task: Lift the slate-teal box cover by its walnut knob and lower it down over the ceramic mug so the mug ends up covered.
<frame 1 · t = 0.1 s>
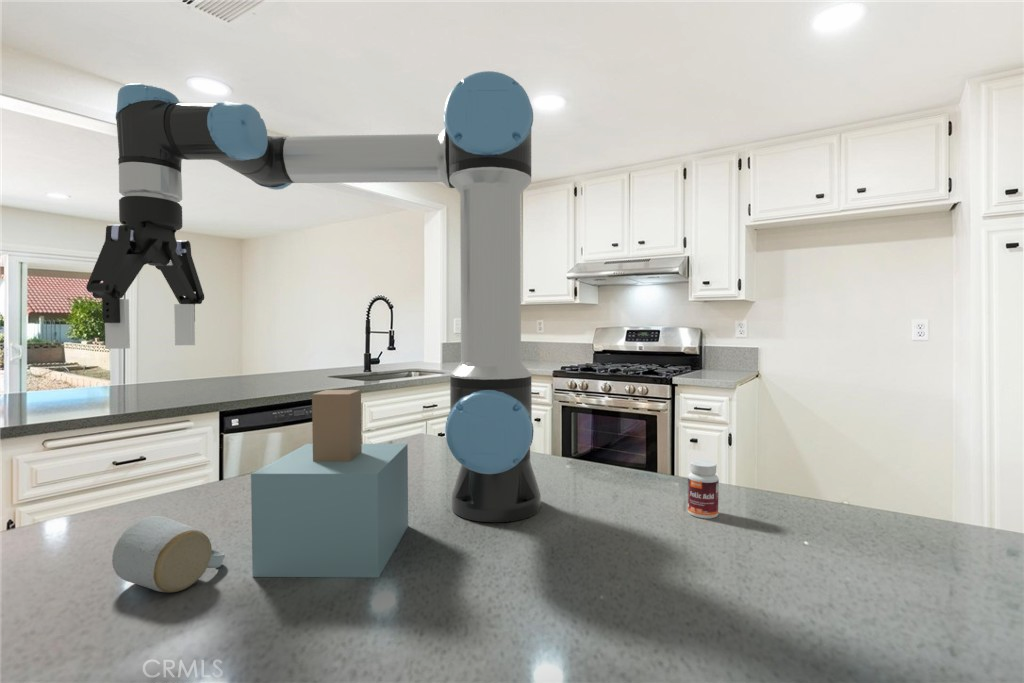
hand: (154, 347, 76), 28 cm above the countertop, fingers open, 13 cm apart
pill bottle: (702, 515, 85), on the countertop
ceramic mug: (175, 581, 63), on the countertop
teal box cover: (339, 548, 72), on the countertop
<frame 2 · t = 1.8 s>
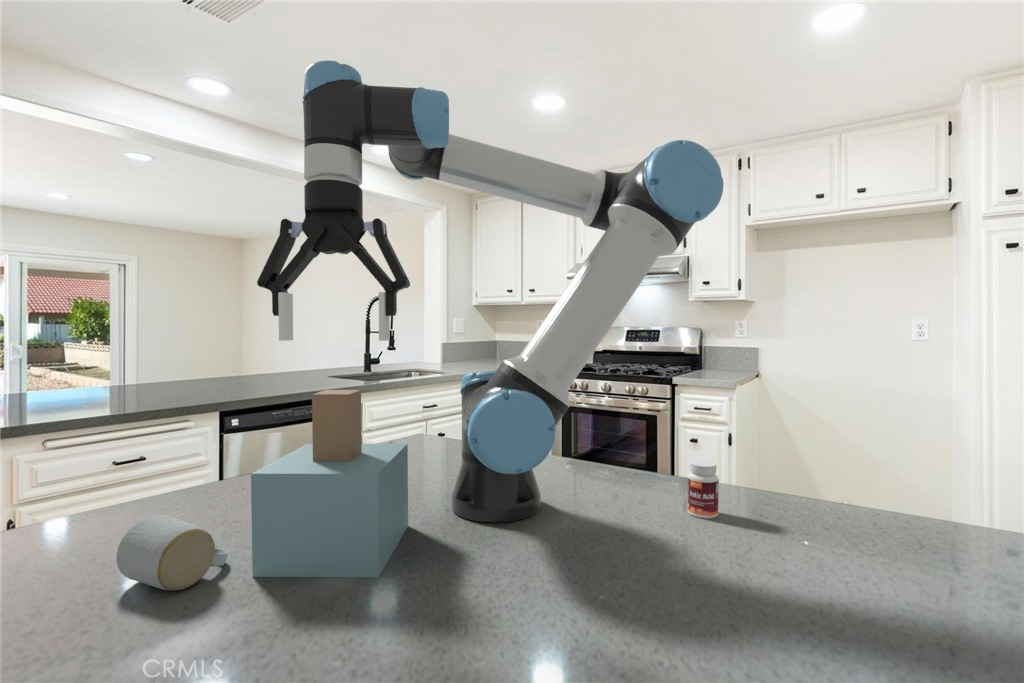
hand: (335, 340, 71), 29 cm above the countertop, fingers open, 13 cm apart
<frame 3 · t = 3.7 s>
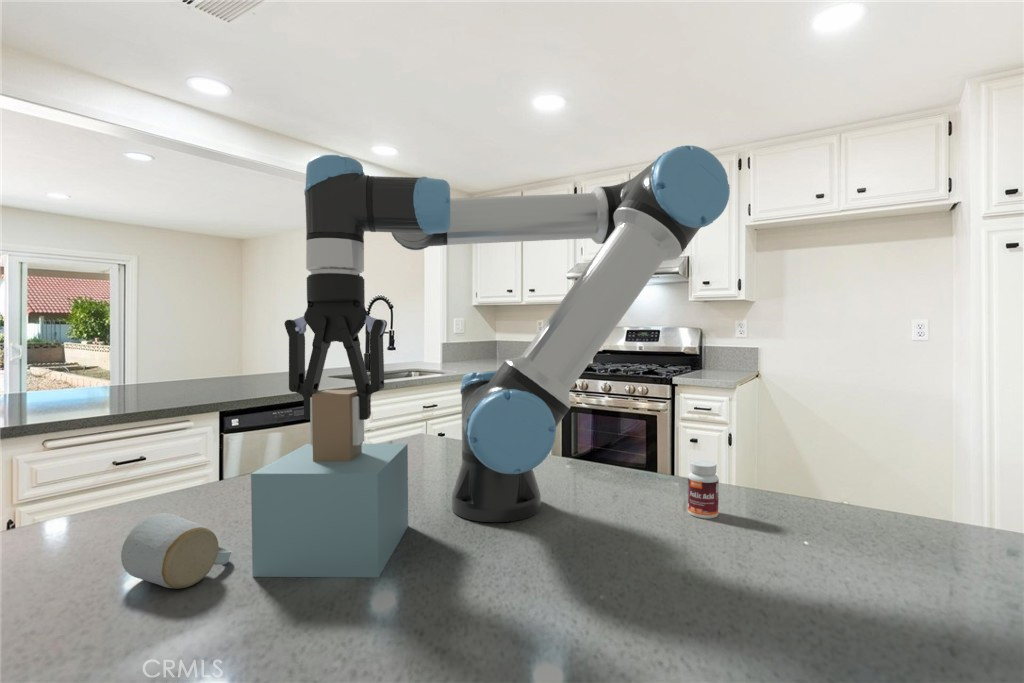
hand: (338, 442, 72), 15 cm above the countertop, fingers closed on teal box cover, 5 cm apart
teal box cover: (339, 548, 72), on the countertop, touching gripper
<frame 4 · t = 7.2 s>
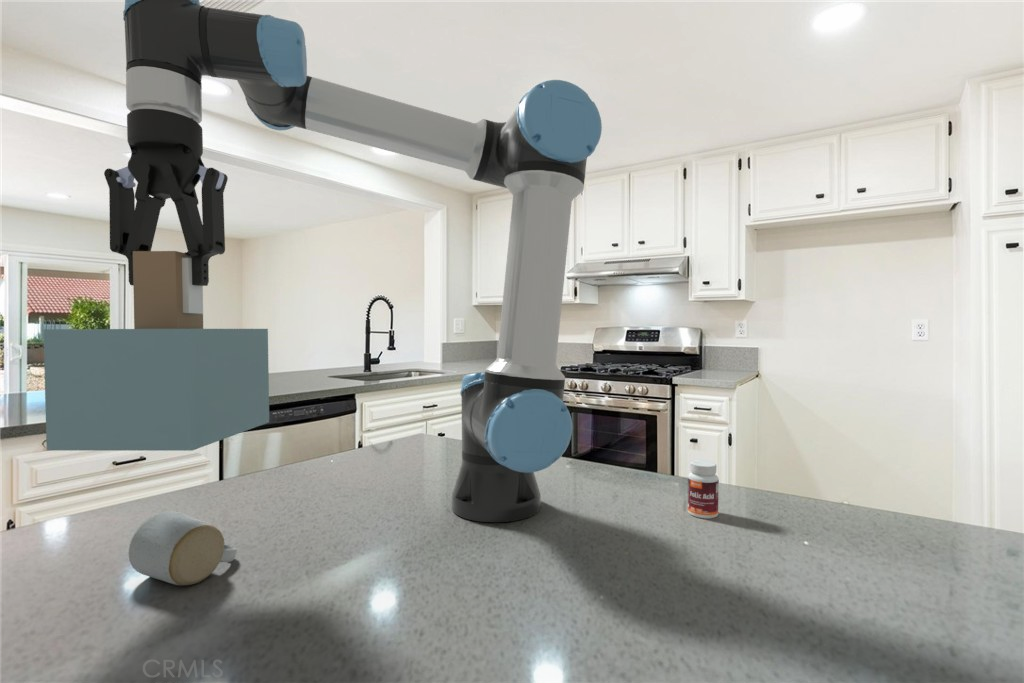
hand: (169, 313, 63), 32 cm above the countertop, fingers closed on teal box cover, 5 cm apart
teal box cover: (172, 434, 63), point 18 cm above the countertop, touching gripper
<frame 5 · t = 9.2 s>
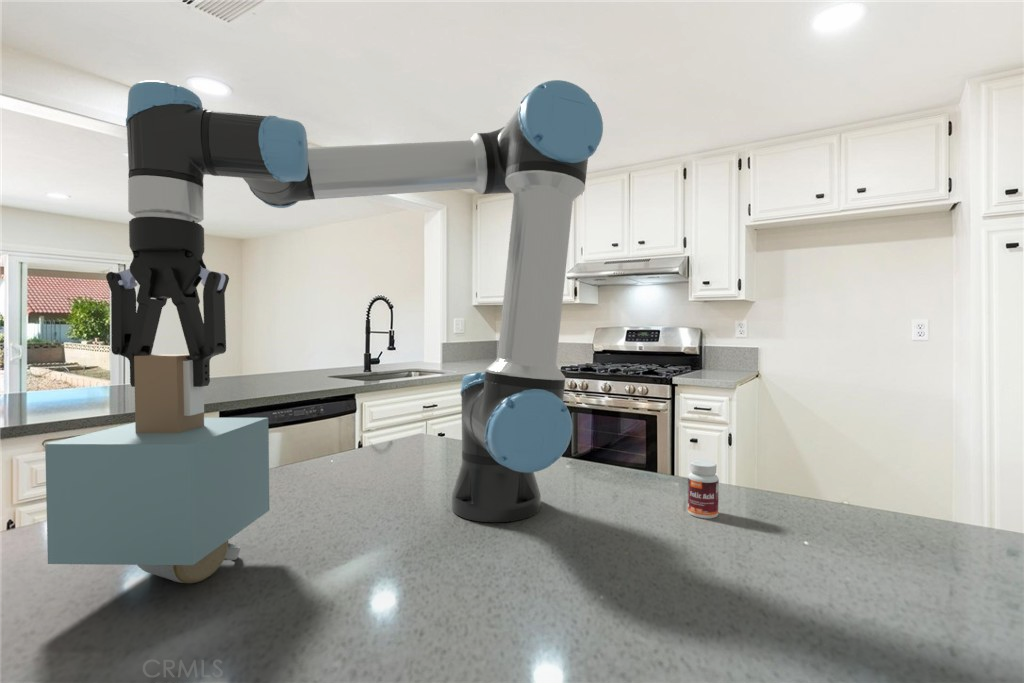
hand: (170, 413, 63), 20 cm above the countertop, fingers closed on teal box cover, 5 cm apart
teal box cover: (172, 533, 63), point 6 cm above the countertop, touching gripper
when the fingers open (16 cm above the countertop, at t = 10.8 s): teal box cover drops 2 cm, on the countertop.
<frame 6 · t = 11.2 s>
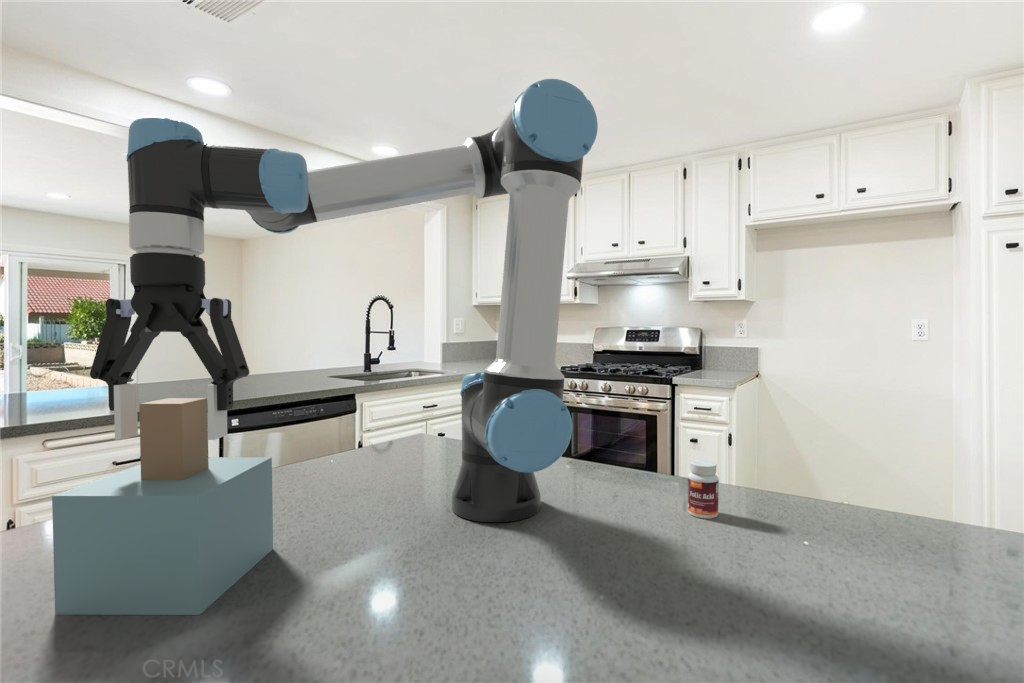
hand: (172, 437, 63), 17 cm above the countertop, fingers open, 10 cm apart
teal box cover: (178, 577, 64), on the countertop
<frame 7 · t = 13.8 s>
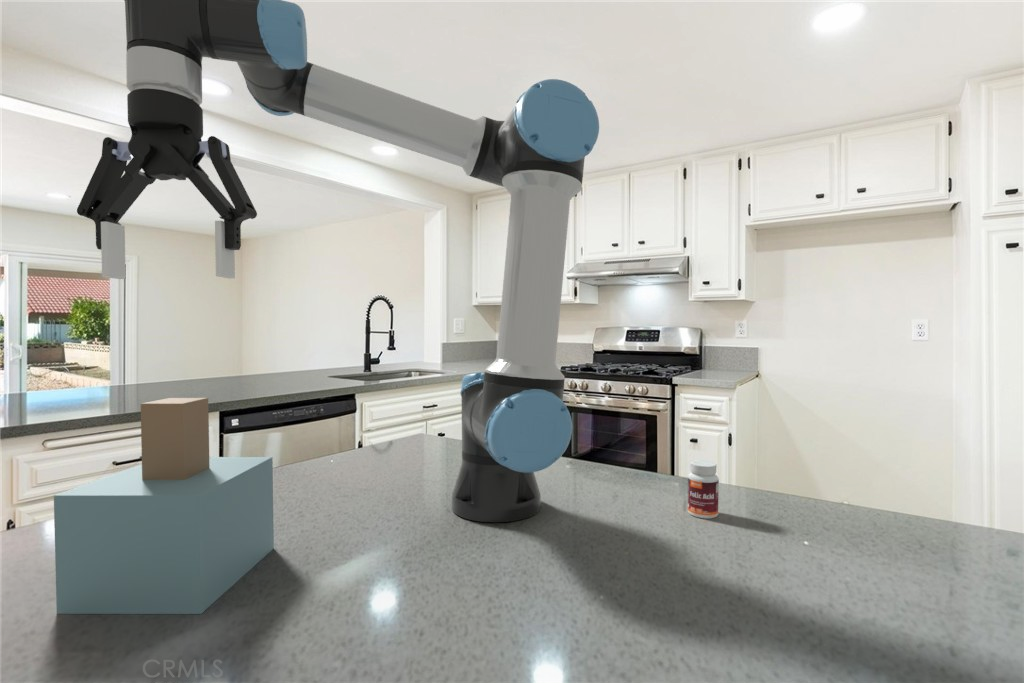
hand: (169, 278, 63), 37 cm above the countertop, fingers open, 13 cm apart
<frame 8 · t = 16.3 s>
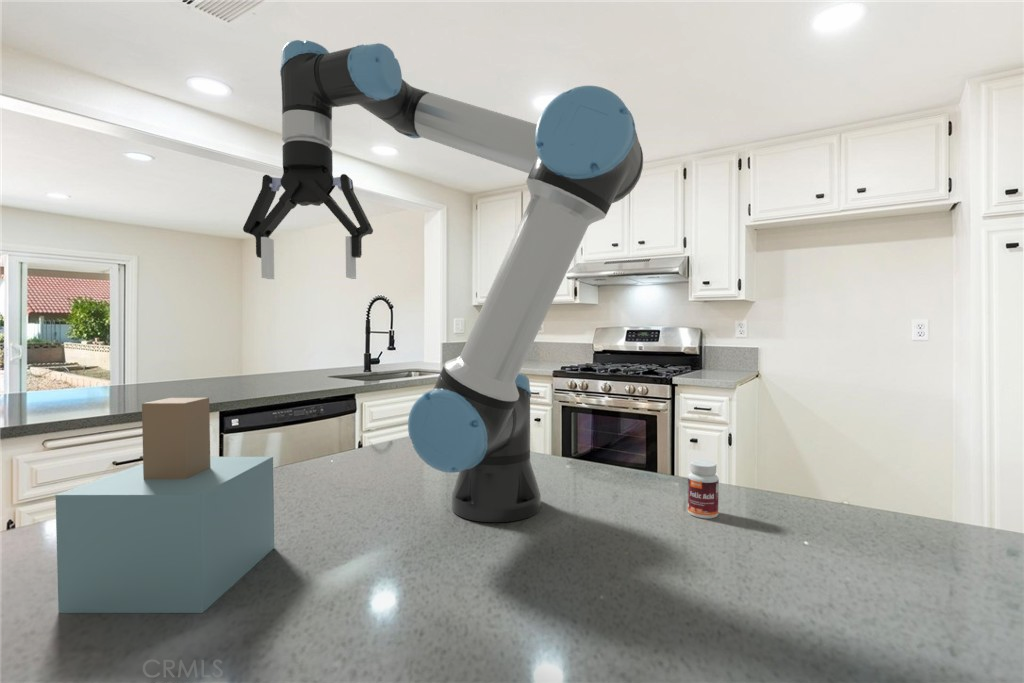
hand: (309, 278, 84), 39 cm above the countertop, fingers open, 13 cm apart
at the end: teal box cover 2.5 cm from the ceramic mug (horizontally); teal box cover on the countertop; teal box cover tilted 0° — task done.
